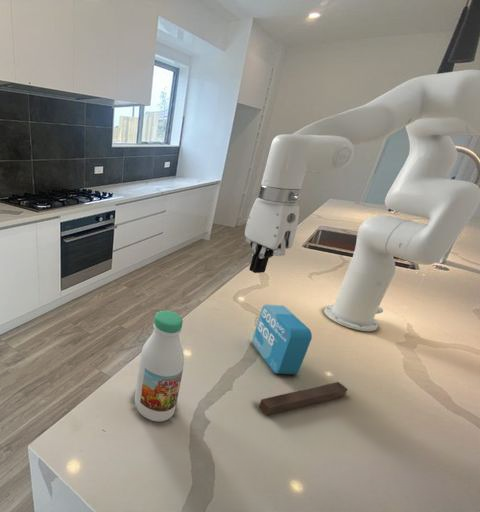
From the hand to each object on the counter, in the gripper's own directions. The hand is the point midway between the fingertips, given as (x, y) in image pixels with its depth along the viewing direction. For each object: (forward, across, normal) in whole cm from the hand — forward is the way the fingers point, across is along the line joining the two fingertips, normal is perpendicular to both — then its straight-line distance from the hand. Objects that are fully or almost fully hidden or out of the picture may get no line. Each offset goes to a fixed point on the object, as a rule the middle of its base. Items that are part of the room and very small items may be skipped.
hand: (256, 271), depth 72 cm
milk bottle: (+19, -15, +32) cm, 40 cm away
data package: (+19, -9, -2) cm, 22 cm away
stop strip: (+19, -21, +2) cm, 28 cm away
